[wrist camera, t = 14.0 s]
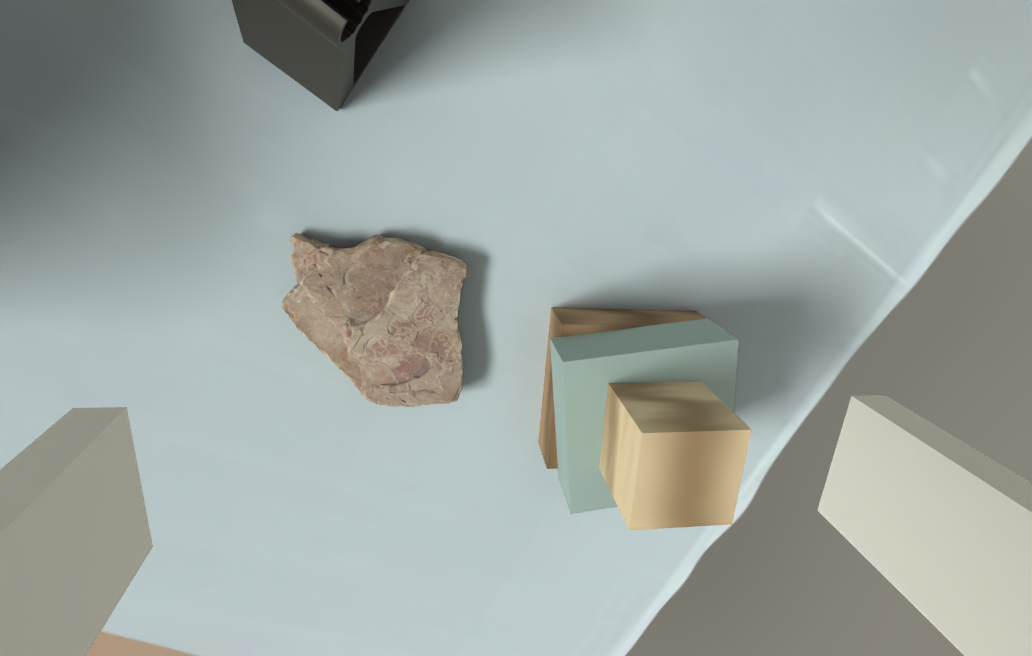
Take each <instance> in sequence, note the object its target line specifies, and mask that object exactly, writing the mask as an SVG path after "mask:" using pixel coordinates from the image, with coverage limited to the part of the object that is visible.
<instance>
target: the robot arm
mask: <svg viewBox="0 0 1032 656" xmlns="http://www.w3.org/2000/svg"><path fill="white" fill-rule="evenodd" d="M818 511H819V512H820V513H821V514H822V515H823V516H824V517H825V518H826V519H827V520H828V521H829V522H830V523H831V524H832V525H833V526H834V527H835V528H836V529H837V530H838V531H839V532H840V533H841V534H842V535H843V536H844V537H845V538H846V539H847V540H848V541H849V542H850V543H851V544H852V545H853V546H854V547H855V548H856V549H858V551H859V552H860V553H861V554H862V555H863V556H864V557H865V558H866V559H867V560H868V561H869V562H870V563H871V564H872V565H873V566H874V567H876V569H878V571H879V572H880V573H881V574H883V576H885V577H886V578H887V579H888V580H889V581H890V582H891V583H892V584H893V585H894V586H895V587H896V588H897V589H898V590H899V591H900V592H901V593H902V594H903V595H904V596H905V597H906V598H907V599H908V600H909V601H910V602H911V603H912V604H913V605H914V606H915V607H916V608H917V609H918V610H919V611H920V612H921V613H922V614H923V615H924V616H925V617H926V618H927V619H928V620H929V621H930V622H931V623H932V624H933V625H934V626H935V627H936V628H937V629H938V630H939V631H940V632H941V633H942V634H943V635H944V636H945V637H946V638H947V639H948V640H949V641H950V642H951V643H952V644H953V645H954V646H955V647H956V648H957V649H958V650H959V651H960V652H961V653H962V654H963V655H964V656H1032V483H1030V482H1029V481H1027V480H1025V479H1024V478H1022V477H1020V476H1018V475H1017V474H1015V473H1014V472H1012V471H1010V470H1009V469H1007V468H1005V467H1004V466H1002V465H1000V464H999V463H997V462H995V461H993V460H992V459H990V458H988V457H987V456H985V455H984V454H982V453H980V452H979V451H977V450H975V449H973V448H972V447H970V446H968V445H967V444H965V443H964V442H962V441H960V440H959V439H957V438H955V437H954V436H952V435H950V434H948V433H947V432H945V431H943V430H942V429H940V428H938V427H937V426H935V425H934V424H932V423H930V422H928V421H927V420H925V419H924V418H922V417H920V416H919V415H917V414H915V413H914V412H912V411H910V410H909V409H907V408H905V407H903V406H902V405H900V404H898V403H897V402H895V401H894V400H892V399H890V398H889V397H887V396H885V395H881V396H851V400H850V403H849V406H848V410H847V414H846V416H845V420H844V423H843V427H842V430H841V433H840V437H839V440H838V443H837V447H836V450H835V453H834V457H833V460H832V464H831V467H830V470H829V474H828V477H827V480H826V484H825V487H824V491H823V494H822V497H821V501H820V504H819V507H818ZM152 547H153V546H152V540H151V535H150V530H149V524H148V519H147V514H146V508H145V503H144V498H143V492H142V487H141V482H140V476H139V471H138V466H137V460H136V455H135V450H134V444H133V439H132V434H131V428H130V423H129V418H128V412H127V407H114V408H72V409H71V410H70V411H69V412H68V413H67V414H65V415H64V416H63V417H62V418H61V419H60V420H58V421H57V422H56V423H55V424H54V425H52V426H51V427H50V428H49V429H48V430H47V431H45V432H44V433H43V434H42V435H41V436H40V437H38V438H37V439H36V440H35V441H34V442H32V443H31V444H30V445H29V446H28V447H27V448H25V449H24V450H23V451H22V452H21V453H20V454H18V455H17V456H16V457H15V458H14V459H12V460H11V461H10V462H9V463H8V464H7V465H5V466H4V467H3V468H2V469H1V470H0V656H86V654H87V653H88V651H89V649H90V648H91V646H92V645H93V643H94V641H95V640H96V638H97V636H98V634H99V633H100V632H101V630H102V628H103V627H104V625H105V623H106V622H107V620H108V618H109V617H110V615H111V614H112V612H113V610H114V609H115V607H116V605H117V604H118V602H119V601H120V599H121V597H122V596H123V594H124V592H125V591H126V589H127V588H128V586H129V584H130V583H131V581H132V579H133V578H134V576H135V575H136V573H137V571H138V570H139V568H140V566H141V565H142V563H143V562H144V560H145V558H146V557H147V555H148V553H149V552H150V550H151V549H152Z"/></svg>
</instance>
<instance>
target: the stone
mask: <svg viewBox="0 0 1032 656" xmlns="http://www.w3.org/2000/svg"><path fill="white" fill-rule="evenodd" d="M290 241H291V243H292V245H293V247H294V249H295V250H294V252H293V254H292V256H291V257H290V260H291V262H292V264H293V267H294V271H295V274H296V276H297V283H298V284H297V285H296V286H294V287H293V289H292V290H291V291H290V292H289V293H288V294H287V296H286V297H285V299H284V300H283V301H282V306H281V307H282V309H283V310H284V311H285V312H286V313H288V314H289V317H290V319H291V320H292V321H293V322H294V324H295V325H296V327H297V328H298V330H300V331H301V332H302V333H303V334H304V335H305V337H306V338H308V339H309V340H310V341H312V342H313V343H314V344H315V345H316V346H317V348H318V349H319V350H320V351H321V352H322V353H324V354H325V355H327V356H328V357H329V359H330V360H331V361H332V362H333V363H335V364H336V365H337V366H338V368H339V369H341V370H342V371H343V372H344V373H345V375H346V376H348V377H349V378H350V379H351V381H352V382H353V383H354V385H355V386H356V387H357V388H358V389H359V391H360V392H361V394H362V395H363V396H364V397H365V398H366V399H367V400H369V401H371V402H373V403H376V404H380V405H387V406H406V407H415V406H420V405H422V404H424V405H428V404H437V403H450V402H455V401H457V400H458V397H459V394H460V392H461V390H462V383H463V380H462V372H463V369H464V368H463V364H462V356H461V349H462V342H461V338H460V334H459V328H458V319H457V317H458V307H459V303H460V295H461V288H462V286H463V281H464V279H465V278H466V276H467V263H466V262H465V261H463V260H461V259H459V258H456V257H454V256H451V255H449V254H446V253H442V252H439V251H435V250H429V251H428V250H427V249H426V248H425V247H423V246H420V245H419V244H417V243H414V242H411V241H404V240H403V239H401V238H387V237H384V236H382V235H375V236H372V237H370V238H369V239H367V240H366V241H364V242H362V243H360V244H358V245H357V246H355V247H352V248H344V249H342V248H336V247H332V246H330V245H329V244H328V243H326V244H324V243H322V242H320V241H318V240H316V239H314V238H308V237H306V236H305V235H303V234H298V233H296V234H294V235H292V237H291V240H290Z"/></svg>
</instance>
